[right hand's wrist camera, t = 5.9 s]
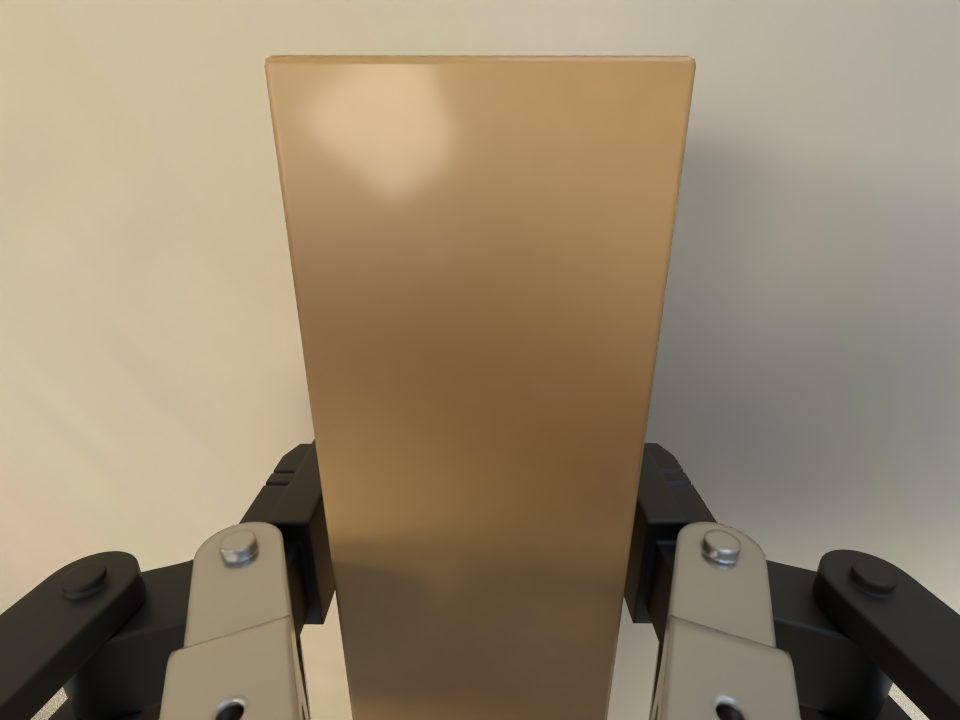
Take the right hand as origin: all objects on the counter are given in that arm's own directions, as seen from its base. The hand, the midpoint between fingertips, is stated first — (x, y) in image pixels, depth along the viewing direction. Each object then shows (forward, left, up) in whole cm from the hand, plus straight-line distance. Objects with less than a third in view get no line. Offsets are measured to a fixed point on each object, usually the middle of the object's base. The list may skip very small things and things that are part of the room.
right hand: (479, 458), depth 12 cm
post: (+2, -18, -4) cm, 18 cm away
